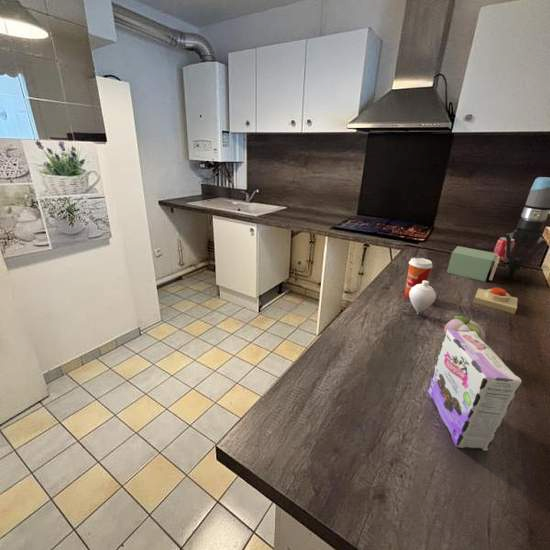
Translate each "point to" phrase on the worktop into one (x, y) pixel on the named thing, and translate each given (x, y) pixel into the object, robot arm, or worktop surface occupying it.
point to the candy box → (471, 389)
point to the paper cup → (417, 273)
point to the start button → (498, 291)
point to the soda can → (502, 250)
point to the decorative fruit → (465, 326)
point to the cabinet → (470, 263)
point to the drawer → (497, 268)
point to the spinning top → (422, 296)
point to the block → (496, 300)
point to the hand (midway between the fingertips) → (510, 275)
